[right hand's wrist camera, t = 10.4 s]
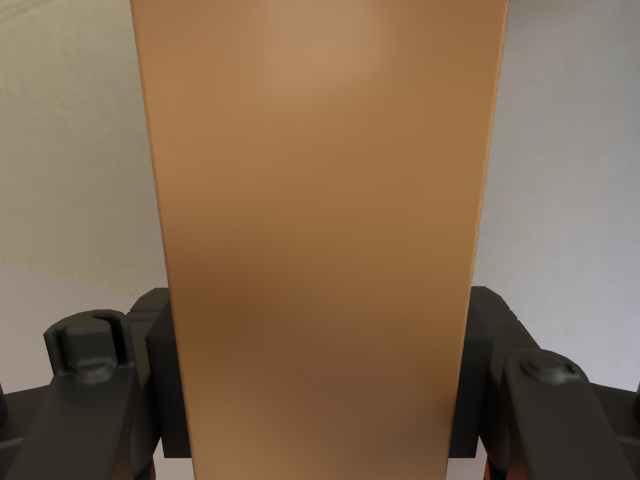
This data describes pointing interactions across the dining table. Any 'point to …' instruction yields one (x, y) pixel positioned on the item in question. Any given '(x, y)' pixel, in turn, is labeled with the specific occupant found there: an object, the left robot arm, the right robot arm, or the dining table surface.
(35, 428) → the right robot arm
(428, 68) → the beam
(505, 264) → the dining table surface
